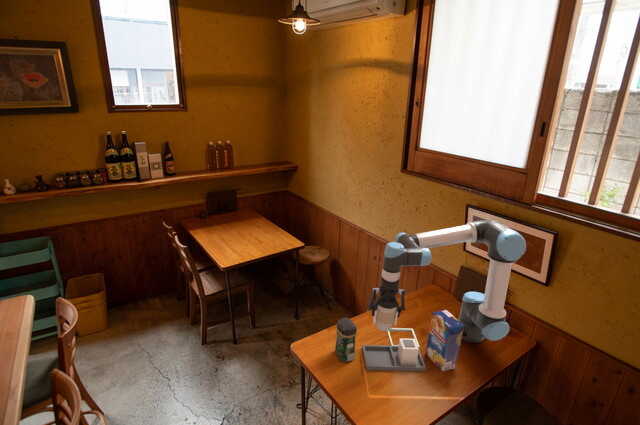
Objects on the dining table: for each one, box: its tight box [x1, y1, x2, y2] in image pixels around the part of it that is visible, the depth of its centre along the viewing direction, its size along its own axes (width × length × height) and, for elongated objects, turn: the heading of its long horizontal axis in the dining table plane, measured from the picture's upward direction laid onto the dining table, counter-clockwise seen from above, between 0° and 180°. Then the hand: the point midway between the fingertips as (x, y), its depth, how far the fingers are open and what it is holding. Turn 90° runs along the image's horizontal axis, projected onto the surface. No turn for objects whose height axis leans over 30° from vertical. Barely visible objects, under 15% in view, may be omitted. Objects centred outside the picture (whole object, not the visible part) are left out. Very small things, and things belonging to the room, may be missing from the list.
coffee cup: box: [375, 297, 397, 332], centre depth 155 cm, size 9×9×15 cm
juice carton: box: [425, 309, 464, 372], centre depth 159 cm, size 12×8×24 cm, turn 20°
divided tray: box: [362, 344, 427, 372], centre depth 162 cm, size 26×14×3 cm, turn 91°
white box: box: [397, 337, 420, 366], centre depth 161 cm, size 7×7×9 cm
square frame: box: [386, 327, 421, 349], centre depth 176 cm, size 14×14×2 cm
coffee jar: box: [334, 317, 358, 363], centre depth 162 cm, size 10×8×19 cm
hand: (384, 322), depth 157 cm, fingers closed on coffee cup, 8 cm apart
